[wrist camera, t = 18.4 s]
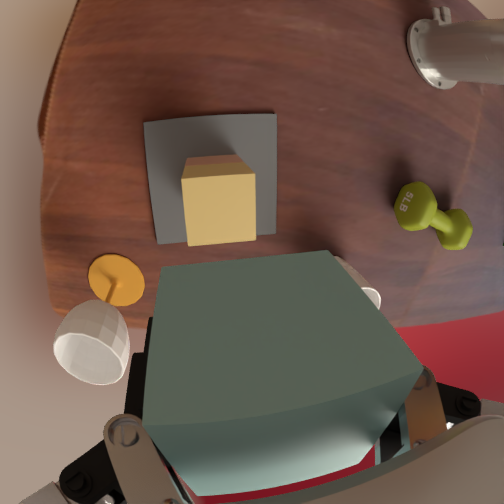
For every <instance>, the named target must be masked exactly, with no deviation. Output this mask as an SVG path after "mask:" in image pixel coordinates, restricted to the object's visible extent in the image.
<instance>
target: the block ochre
mask: <svg viewBox="0 0 504 504" xmlns="http://www.w3.org/2000/svg"><path fill="white" fill-rule="evenodd" d="M181 182H182V193H183V203H184V213H185V223H186V232H187V240H188V246H197V245H208V244H219V243H230V242H241V241H252V240H256V196H255V173H254V172H253V171H252V170H251V169H250V168H249V166H248V165H247V164H246V163H245V162H238V163H221V164H207V165H195V166H185V168H184V171H183V175H182V178H181Z"/></svg>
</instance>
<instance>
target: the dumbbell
mask: <svg viewBox="0 0 504 504" xmlns="http://www.w3.org/2000/svg"><path fill="white" fill-rule="evenodd" d="M394 212H395V215H396V218H397V221H398V223H399V225H400V226H401V227H402V228H404V229H406V230H410V231H413V230H421V229H425V228H427V227H428V226H429V225H430V226H432V227H434V228H436V233H437V236H438V238H439V241H440V243H441V245H442V246H443V247H444V248H446V249H448V250H459V249H463V248H464V247H465V246H466V245H467V243H468V241H469V239H470V237H471V234H472V231H473V227H472V224H471V221H470V219H469V217H468V216H467V214H466V213H465V212H464V211H463V210H462V209H451V210H447V211H445V212H442V211H441V210H439V209H437V201H436V199H435V196H434V194H433V192H432V191H431V189H430V188H429V187H428V186H427V185H426V184H425V183H423V182H420V181H419V182H413V183H410V184H407V185H404V186H403V187H402V188H401V190H400V192H399V194H398V197H397V199H396V201H395V204H394Z"/></svg>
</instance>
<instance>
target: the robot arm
mask: <svg viewBox="0 0 504 504" xmlns="http://www.w3.org/2000/svg"><path fill="white" fill-rule="evenodd" d="M431 9H432V15H433V19H432V20H429V19H421V20H417V21H415V22H414V23H412V24H411V26H410V27H409V30H408V33H407V47H408V51H409V55H410V58H411V60H412V63H413V65H414V67H415V68H416V70H417V72H418V73H419V74H420V76H421V77H422V78H423V79H424V80H425V81H426V82H427V83H428V84H430V85H431V86H433V87H435V88H438V89H449V88H452V87H453V86H455V84H456V83H457V82H458V81H468V82H481V83H491V84H499V85H504V19H486V20H474V21H465V22H457V23H451V13H450V9H449V8H447V7H439V9H440V11H439V9H438V8H436V7H432V8H431ZM440 15H441V18H442V20H440ZM152 322H153V317H149V320H148V326H147V333H146V339H145V347H144V352H142V353H134V354H133V356H132V360H131V366H130V372H129V379H128V387H127V393H126V401H125V409H124V414H119V415H116V416H114V417H112V418H111V419H110V420H109V421H108V422H107V423H106V425H105V426H104V431H103V435H104V439H103V440H102V441H101V442H100V443H98V444H97V445H96V446H94V447H93V448H91V449H90V450H89V451H88V452H86V453H85V454H84V455H82V456H81V457H79V458H78V459H77V460H75V461H74V462H72V463H71V464H70V465H68V466H67V467H65V468H64V469H63V470H62V472H61V474H60V477H59V481H58V482H56V483H54V482H53V481H52V482H51V483H49V484H48V485H46V486H45V487H43V488H42V489H40V490H39V491H37V492H36V493H34V494H32V495H31V496H29V497H27V498H26V499H24V500H22V501H21V502H20V503H19V504H127V503H128V504H194V502H193V501H192V499H191V498H190V496H189V494H188V492H187V491H186V489H185V487H184V485H183V484H182V482H181V480H180V478H179V477H178V475H177V473H176V471H175V469H174V468H173V467H172V465H171V464H170V463H169V462H168V460H167V459H166V458H165V456H164V455H163V454H162V452H161V451H160V450H159V448H158V447H157V446H156V444H155V443H154V442H153V440H152V439H151V437H150V436H149V434H148V433H147V432H146V430H145V429H144V427H143V426H142V419H143V404H144V391H145V380H146V370H147V361H148V353H149V344H150V337H151V329H152ZM422 366H423V367H424V369H423V371H422V373H421V375H420V376H419V378H418V380H417V381H416V383H415V385H414V387H413V388H412V390H411V391H410V393H409V395H408V396H407V398H406V399H405V401H404V403H403V404H402V406H401V407H400V409H399V410H398V412H397V413H396V415H395V416H394V418H393V419H392V421H391V422H390V423H389V425H388V426H387V428H386V429H385V430H384V432H383V433H382V434H381V436H380V437H379V438H378V440H377V441H376V442H375V466H373V467H371V468H368V469H366V470H363V471H361V472H358V473H355V474H353V475H350V476H347V477H344V478H341V479H338V480H335V481H332V482H328V483H325V484H322V485H318V486H315V487H311V488H308V489H304V490H300V491H296V492H291V493H286V494H282V495H277V496H272V497H266V498H260V499H254V500H247V501H240V502H232V503H222V504H504V403H499V402H494V401H490V400H485V399H481V400H480V401H479V399H478V397H477V396H476V395H475V394H474V393H472V392H470V391H466V390H463V389H459V388H456V387H452V386H449V385H445V384H442V383H438V382H436V380H435V377H434V374H433V373H432V371H431V370H430V369H429V368H427V367H426V366H424V365H422Z"/></svg>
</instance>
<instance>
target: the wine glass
mask: <svg viewBox="0 0 504 504" xmlns="http://www.w3.org/2000/svg"><path fill="white" fill-rule="evenodd" d="M88 279H89V283H90V287H91V288H92V290H93V291H94V293H95V294H96V296H98V297H99V298H100V299H102V300H103V301H101V300H89V301H86V302H84V303H82V304H80V305H77V306H75V307H74V308H73V309H72V310H71V311H70V312H69V313H68V314H67V315H66V317H65V318H64V320H63V321H62V323H61V324H60V326H59V328H58V329H57V331H56V334H55V339H54V343H53V348H54V354H55V356H56V358H57V360H58V362H59V364H60V365H61V366H62V367H63V368H64V369H65V370H66V371H67V372H68V373H70V374H71V375H73V376H74V377H76V378H78V379H79V380H82V381H85V382H88V383H91V384H98V385H107V384H111V383H115V382H117V381H118V380H119V379H120V378H121V377H122V375H123V373H124V371H125V368H126V365H127V362H128V357H129V348H130V343H129V335H128V331H127V327H126V323H125V321H124V319H123V316H122V315H121V314H120V312H119V311H118V310H117V309H116V308H115V307H113V306H112V305H115V306H127V305H130V304H133V303H135V302H136V301H137V300H138V299H139V298H140V297H141V296H142V294H143V290H144V287H145V284H144V277H143V274H142V273H141V271H140V269H139V268H138V266H137V265H136V264H134V263H133V262H132V261H131V260H129V259H128V258H126V257H123V256H120V255H117V254H105V255H103V256H101V257H99V258H97V259H95V261H94V262H93V263H92V265H91V266H90V268H89V274H88ZM111 304H112V305H111Z"/></svg>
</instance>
